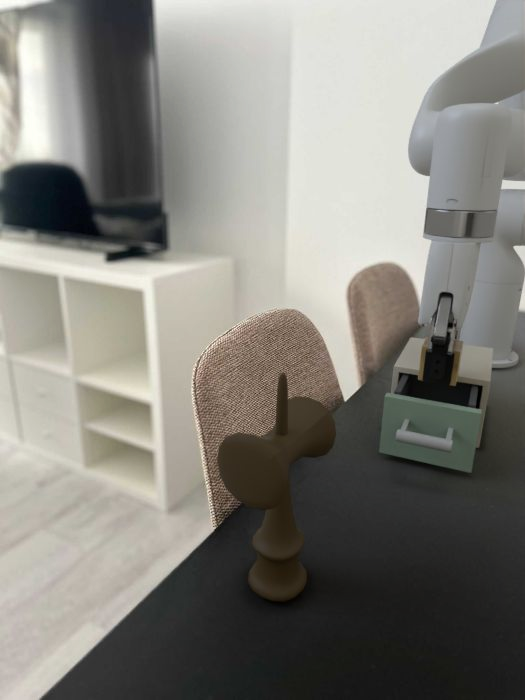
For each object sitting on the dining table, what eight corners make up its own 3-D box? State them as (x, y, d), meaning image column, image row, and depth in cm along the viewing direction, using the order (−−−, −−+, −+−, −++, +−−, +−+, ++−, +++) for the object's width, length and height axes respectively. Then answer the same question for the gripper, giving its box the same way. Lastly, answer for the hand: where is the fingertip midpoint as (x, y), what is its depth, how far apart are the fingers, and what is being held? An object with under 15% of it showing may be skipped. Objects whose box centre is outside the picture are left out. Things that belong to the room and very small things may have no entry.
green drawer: (468, 494, 56) (479, 431, 54) (370, 471, 61) (376, 411, 58) (477, 426, 72) (485, 374, 69) (398, 411, 76) (403, 361, 73)
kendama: (216, 604, 43) (211, 384, 36) (277, 539, 50) (282, 348, 44) (277, 639, 40) (283, 405, 33) (332, 564, 47) (346, 362, 41)
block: (422, 368, 67) (426, 336, 65) (458, 373, 65) (463, 340, 63) (417, 380, 63) (421, 346, 61) (455, 386, 61) (460, 351, 60)
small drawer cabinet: (479, 448, 68) (490, 381, 64) (387, 429, 72) (393, 365, 69) (483, 406, 80) (493, 348, 77) (404, 392, 84) (410, 337, 81)
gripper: (433, 218, 66) (417, 350, 72) (412, 231, 52) (395, 396, 58) (496, 220, 63) (474, 358, 70) (493, 236, 49) (465, 408, 55)
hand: (438, 374), depth 64 cm, fingers closed on block, 4 cm apart
